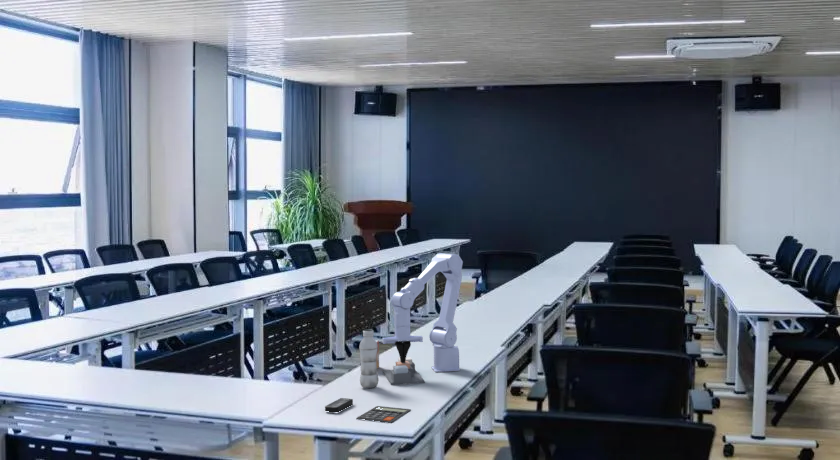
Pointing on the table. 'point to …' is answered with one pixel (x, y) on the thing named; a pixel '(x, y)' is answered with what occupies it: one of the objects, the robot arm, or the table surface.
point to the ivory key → (406, 360)
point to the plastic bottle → (368, 360)
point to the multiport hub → (339, 405)
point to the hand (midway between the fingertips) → (402, 362)
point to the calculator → (384, 414)
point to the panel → (404, 376)
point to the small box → (377, 355)
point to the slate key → (400, 369)
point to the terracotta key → (403, 364)
